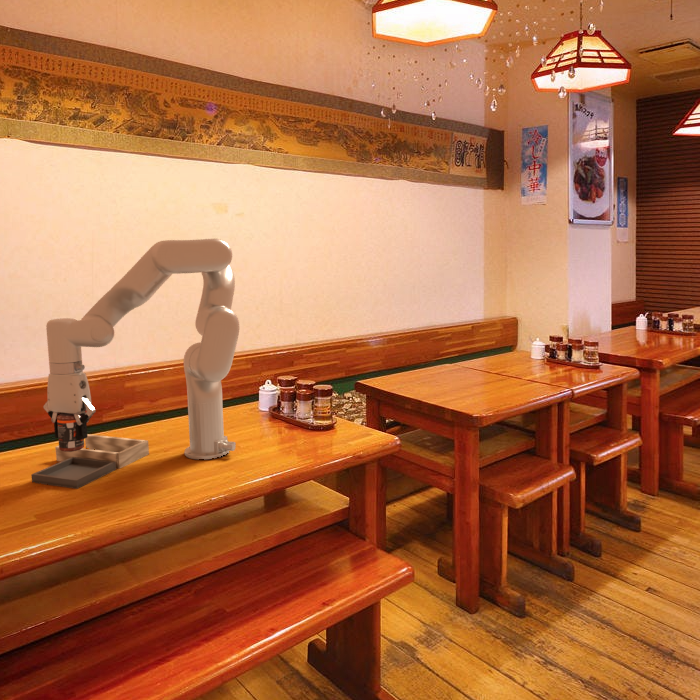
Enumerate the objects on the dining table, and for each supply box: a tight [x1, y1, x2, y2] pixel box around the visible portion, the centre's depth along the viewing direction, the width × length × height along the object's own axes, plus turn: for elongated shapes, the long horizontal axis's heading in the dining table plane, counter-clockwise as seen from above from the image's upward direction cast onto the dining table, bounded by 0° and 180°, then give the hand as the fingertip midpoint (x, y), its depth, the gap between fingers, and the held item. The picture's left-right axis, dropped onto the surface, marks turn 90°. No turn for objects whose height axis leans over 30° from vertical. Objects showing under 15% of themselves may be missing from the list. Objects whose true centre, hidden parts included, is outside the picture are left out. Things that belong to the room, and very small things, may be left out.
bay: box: [55, 433, 150, 469], centre depth 172 cm, size 21×12×4 cm, turn 71°
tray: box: [31, 457, 117, 489], centre depth 158 cm, size 14×14×2 cm
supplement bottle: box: [57, 413, 85, 452], centre depth 156 cm, size 6×6×11 cm
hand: (71, 437), depth 157 cm, fingers closed on supplement bottle, 6 cm apart
